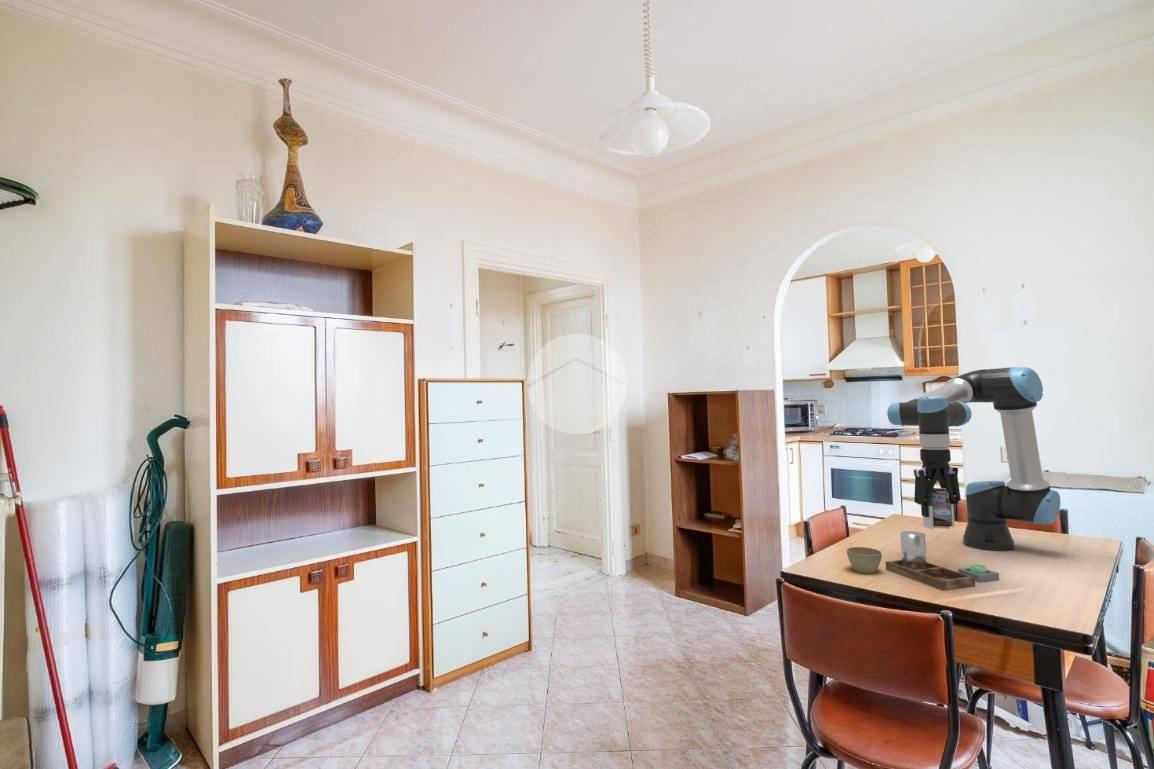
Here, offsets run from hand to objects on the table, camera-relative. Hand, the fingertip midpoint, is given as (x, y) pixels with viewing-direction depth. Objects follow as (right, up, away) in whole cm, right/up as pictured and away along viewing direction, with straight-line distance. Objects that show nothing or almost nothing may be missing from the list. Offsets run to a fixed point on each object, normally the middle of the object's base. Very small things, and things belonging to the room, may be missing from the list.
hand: (939, 526), depth 164 cm
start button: (+13, -16, +2) cm, 21 cm away
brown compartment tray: (-1, -17, +4) cm, 18 cm away
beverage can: (0, -1, 0) cm, 1 cm away
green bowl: (-15, -18, +13) cm, 27 cm away
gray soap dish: (+13, -17, +2) cm, 21 cm away
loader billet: (-2, -17, +9) cm, 19 cm away
